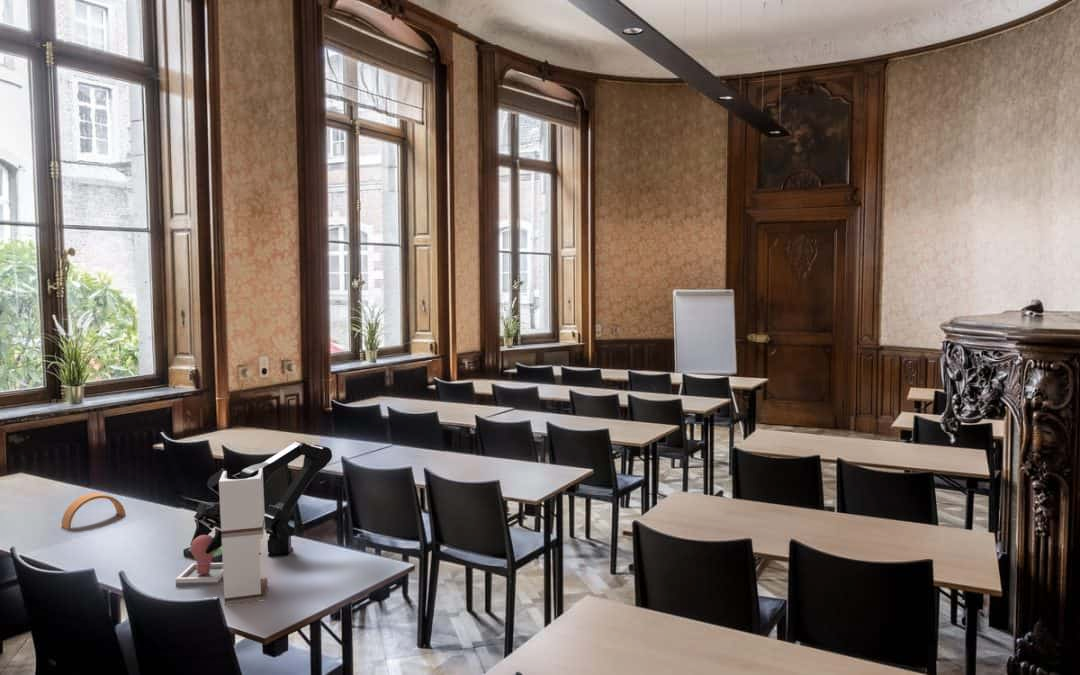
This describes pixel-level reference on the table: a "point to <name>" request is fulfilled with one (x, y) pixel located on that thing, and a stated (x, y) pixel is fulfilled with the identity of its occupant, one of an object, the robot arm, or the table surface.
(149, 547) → the table surface
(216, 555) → the disk drive
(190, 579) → the white square frame
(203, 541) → the light bulb
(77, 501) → the arch
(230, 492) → the tall white pillar
